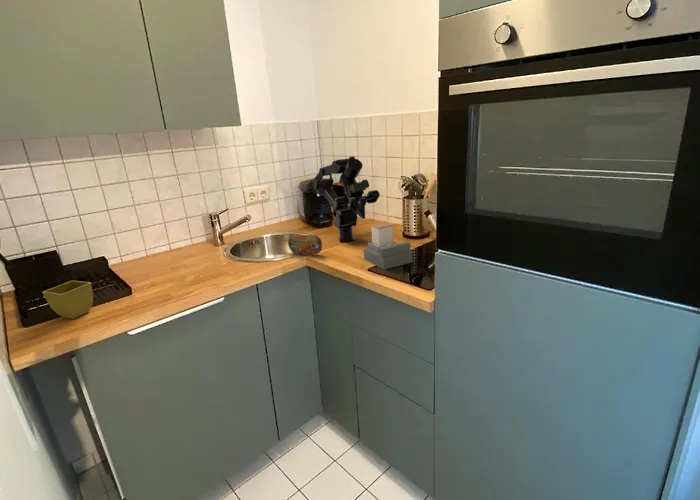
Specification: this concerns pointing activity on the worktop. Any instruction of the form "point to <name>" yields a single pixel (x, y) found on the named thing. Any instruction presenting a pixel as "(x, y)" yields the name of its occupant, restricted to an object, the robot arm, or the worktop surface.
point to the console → (389, 254)
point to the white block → (382, 234)
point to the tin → (305, 244)
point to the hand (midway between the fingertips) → (364, 218)
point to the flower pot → (70, 298)
